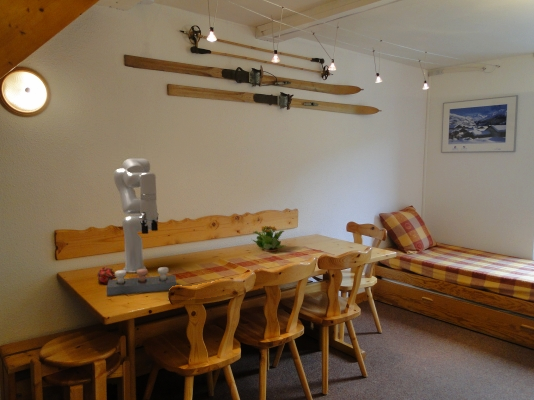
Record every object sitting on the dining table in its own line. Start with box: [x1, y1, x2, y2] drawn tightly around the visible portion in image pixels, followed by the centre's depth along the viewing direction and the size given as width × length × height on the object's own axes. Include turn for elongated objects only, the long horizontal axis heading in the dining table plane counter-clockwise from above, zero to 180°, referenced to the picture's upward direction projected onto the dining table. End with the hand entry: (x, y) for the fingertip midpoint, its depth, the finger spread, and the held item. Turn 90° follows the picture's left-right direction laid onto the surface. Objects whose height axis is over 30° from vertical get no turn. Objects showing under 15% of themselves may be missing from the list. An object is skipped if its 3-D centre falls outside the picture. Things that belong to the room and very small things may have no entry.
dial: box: [136, 268, 149, 282], centre depth 203 cm, size 5×5×6 cm
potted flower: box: [252, 225, 287, 253], centre depth 284 cm, size 25×24×18 cm
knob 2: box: [157, 266, 169, 281], centre depth 205 cm, size 5×5×6 cm
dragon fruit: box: [96, 266, 117, 285], centre depth 213 cm, size 8×8×12 cm
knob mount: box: [106, 274, 177, 297], centre depth 203 cm, size 12×32×4 cm, turn 106°
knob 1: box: [114, 269, 127, 284], centre depth 200 cm, size 5×5×6 cm
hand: (149, 232), depth 205 cm, fingers open, 9 cm apart
